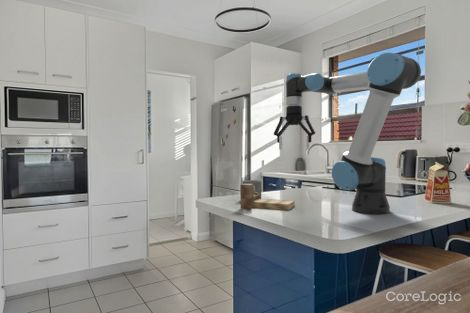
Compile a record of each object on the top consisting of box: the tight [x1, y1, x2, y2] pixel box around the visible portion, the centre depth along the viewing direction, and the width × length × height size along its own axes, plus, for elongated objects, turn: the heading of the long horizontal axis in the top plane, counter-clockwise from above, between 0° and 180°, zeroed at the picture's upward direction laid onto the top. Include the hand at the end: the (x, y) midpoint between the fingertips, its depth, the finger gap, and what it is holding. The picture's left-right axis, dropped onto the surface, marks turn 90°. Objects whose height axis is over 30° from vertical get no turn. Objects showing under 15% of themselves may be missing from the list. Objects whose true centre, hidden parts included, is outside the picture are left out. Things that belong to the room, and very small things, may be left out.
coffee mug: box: [242, 179, 262, 199], centre depth 170 cm, size 13×10×10 cm
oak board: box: [254, 198, 296, 211], centre depth 152 cm, size 22×10×3 cm, turn 66°
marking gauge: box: [239, 183, 260, 210], centre depth 153 cm, size 4×16×11 cm, turn 156°
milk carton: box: [423, 161, 452, 205], centre depth 161 cm, size 9×9×20 cm
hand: (294, 149), depth 159 cm, fingers open, 13 cm apart
